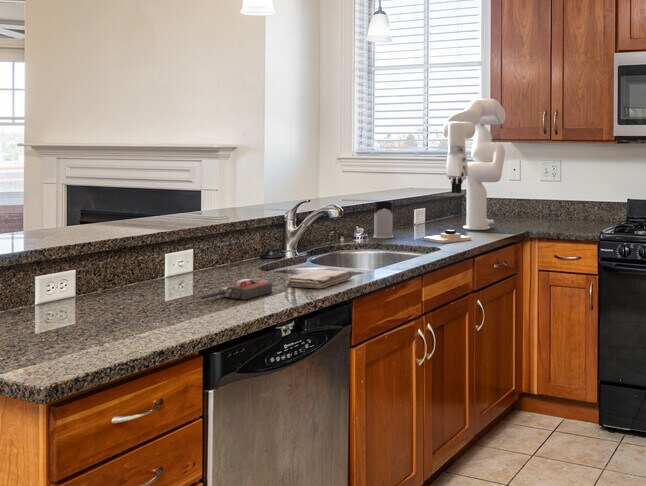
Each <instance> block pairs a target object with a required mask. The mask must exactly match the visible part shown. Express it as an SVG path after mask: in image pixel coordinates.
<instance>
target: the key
mask: <svg viewBox="0 0 646 486" xmlns="http://www.w3.org/2000/svg"><path fill="white" fill-rule="evenodd" d="M444 233H445V234H456V233H457V230H455V229H445V230H444Z"/></svg>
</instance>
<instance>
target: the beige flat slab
mask: <svg viewBox="0 0 646 486" xmlns="http://www.w3.org/2000/svg"><path fill="white" fill-rule="evenodd" d="M423 241H425V242H432V243H438V244H448V243H458V242H465V241H472V236H469V235H462V233H458V232H456V234H445V232H441V233H439V235H430V236H423Z"/></svg>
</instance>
